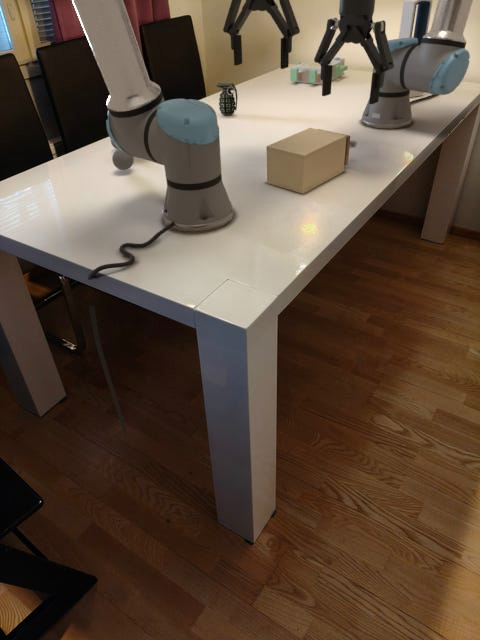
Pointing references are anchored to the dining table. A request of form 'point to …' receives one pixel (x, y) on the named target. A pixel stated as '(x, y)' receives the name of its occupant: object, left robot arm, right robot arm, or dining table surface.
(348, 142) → the drawer
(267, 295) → the dining table surface
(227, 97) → the grenade
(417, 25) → the electronic device
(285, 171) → the tan cardboard box
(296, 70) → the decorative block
